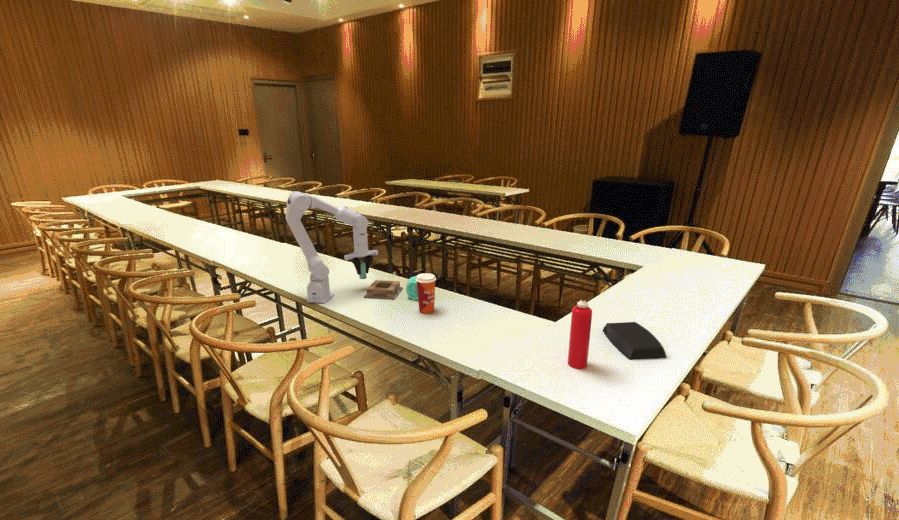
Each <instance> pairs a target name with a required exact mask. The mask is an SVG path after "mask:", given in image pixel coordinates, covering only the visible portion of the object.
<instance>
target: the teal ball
mask: <svg viewBox="0 0 899 520" xmlns="http://www.w3.org/2000/svg"><path fill="white" fill-rule="evenodd" d="M416 278H417V275H415V276H412V277H410V278H409V279H408V280H407V283H406V287H405V291H406V295H407V297H409V298H410V299H411V300H413V301H416V300H417V302H418V292H417V281H416Z"/></svg>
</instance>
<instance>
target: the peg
mask: <svg viewBox="0 0 899 520" xmlns="http://www.w3.org/2000/svg"><path fill="white" fill-rule="evenodd" d="M360 271H361V275H358V276H359V280H366V279H367V273H366V262H364V261H361V263H360Z"/></svg>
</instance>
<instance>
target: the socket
mask: <svg viewBox="0 0 899 520" xmlns="http://www.w3.org/2000/svg"><path fill="white" fill-rule="evenodd" d="M403 289H404V287H403V286H401V281H399V280H398V281H397V280H381V279H379V280H377V279H376V280H374V281H373V282H372V283H371V284H370V285H369V286H368V287H367V288H366V293H365V295H364V296H363V299H371V300H372V299H374V300H377V299H378V300H389V301H390V300H393V301H394V300H396V298H397V297H398V295H399V294H401V292H402V291H403Z"/></svg>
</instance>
